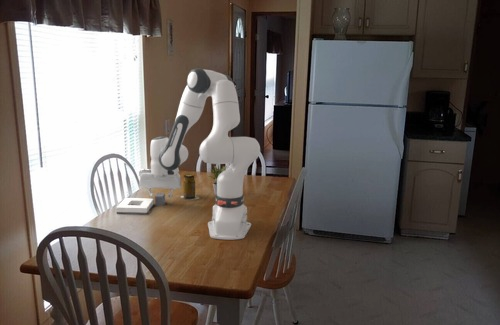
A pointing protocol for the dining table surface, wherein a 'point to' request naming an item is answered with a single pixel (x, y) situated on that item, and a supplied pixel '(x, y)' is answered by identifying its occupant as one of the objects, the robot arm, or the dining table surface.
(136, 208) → the socket
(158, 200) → the plug
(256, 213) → the dining table surface
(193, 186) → the condiment
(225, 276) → the dining table surface
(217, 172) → the house plant
